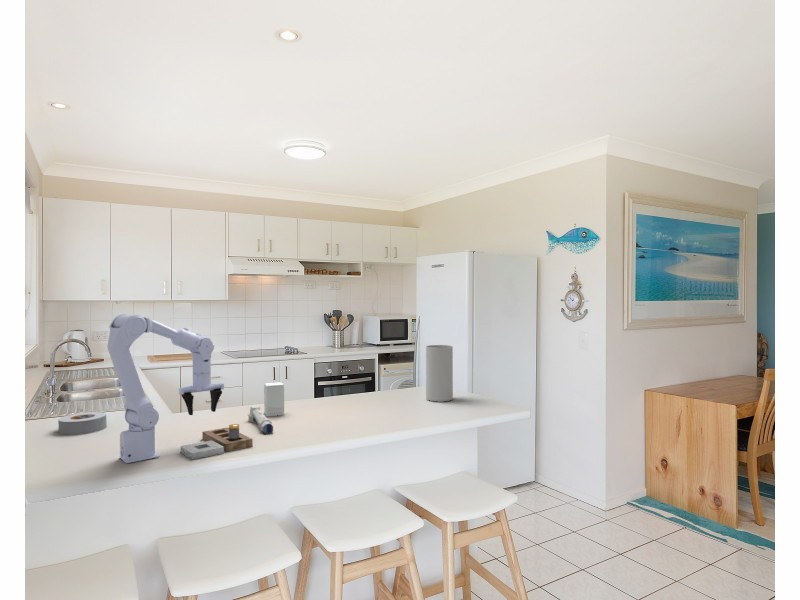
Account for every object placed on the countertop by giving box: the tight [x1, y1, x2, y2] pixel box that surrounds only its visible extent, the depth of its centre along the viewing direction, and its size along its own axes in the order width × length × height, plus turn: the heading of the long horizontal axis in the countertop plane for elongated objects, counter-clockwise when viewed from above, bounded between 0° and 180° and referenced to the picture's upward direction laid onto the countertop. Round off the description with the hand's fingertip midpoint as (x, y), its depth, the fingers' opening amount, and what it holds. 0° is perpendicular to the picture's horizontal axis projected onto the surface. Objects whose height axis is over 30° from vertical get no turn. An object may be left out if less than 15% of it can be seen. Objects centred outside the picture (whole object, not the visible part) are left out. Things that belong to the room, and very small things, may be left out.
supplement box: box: [263, 381, 285, 417], centre depth 220 cm, size 7×7×13 cm
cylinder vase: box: [425, 344, 454, 403], centre depth 248 cm, size 12×12×25 cm
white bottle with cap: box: [247, 404, 274, 435], centre depth 201 cm, size 5×7×25 cm
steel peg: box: [228, 423, 240, 442], centre depth 174 cm, size 3×3×7 cm
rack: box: [202, 426, 254, 453], centre depth 178 cm, size 9×20×2 cm, turn 41°
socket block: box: [180, 440, 225, 461], centre depth 167 cm, size 10×10×2 cm
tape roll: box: [57, 411, 108, 436], centre depth 197 cm, size 15×15×5 cm
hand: (202, 412), depth 179 cm, fingers open, 7 cm apart
